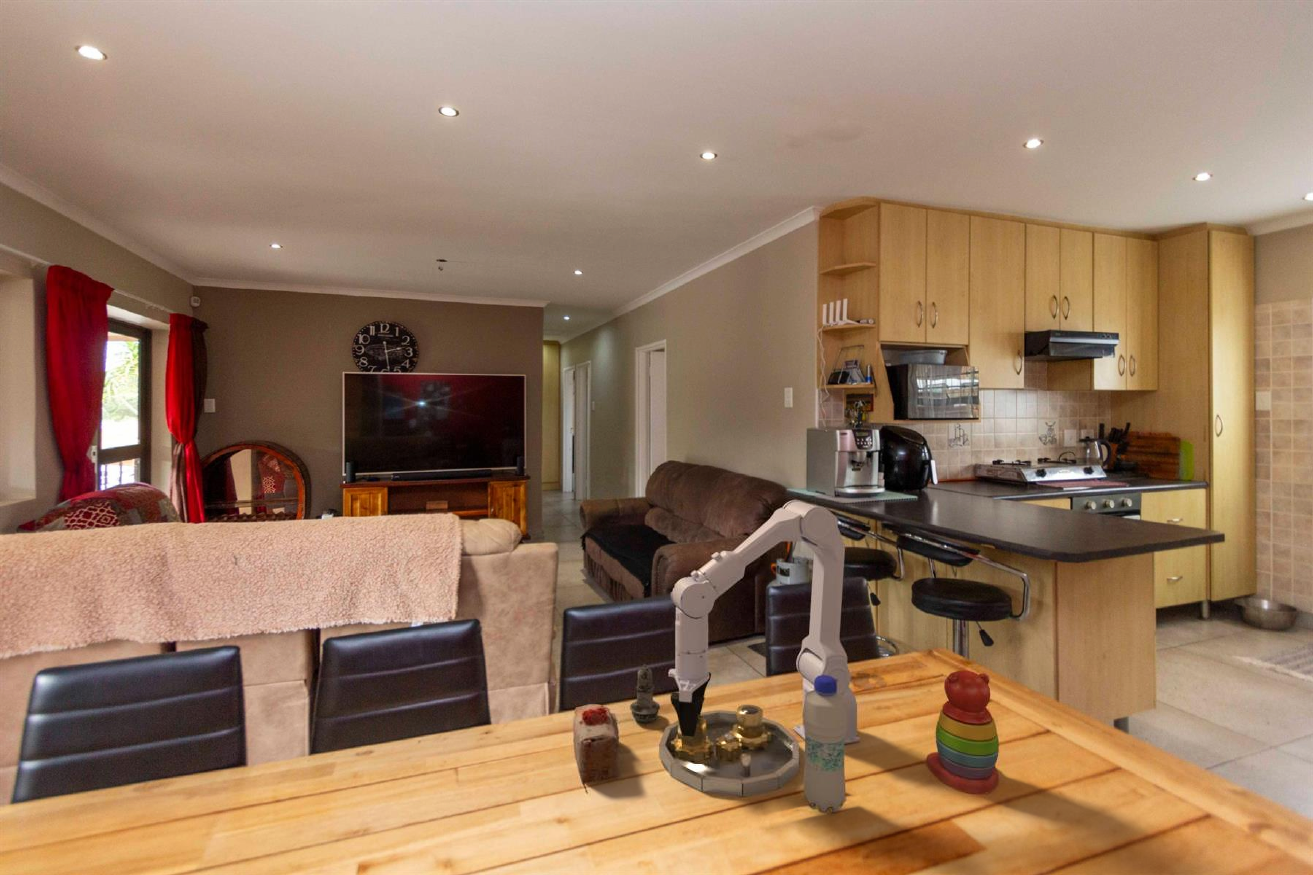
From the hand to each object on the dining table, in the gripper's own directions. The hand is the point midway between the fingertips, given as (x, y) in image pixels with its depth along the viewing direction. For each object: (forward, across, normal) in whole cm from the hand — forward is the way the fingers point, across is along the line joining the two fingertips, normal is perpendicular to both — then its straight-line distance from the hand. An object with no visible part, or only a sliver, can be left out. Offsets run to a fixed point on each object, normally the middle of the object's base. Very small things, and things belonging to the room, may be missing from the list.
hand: (691, 724), depth 112 cm
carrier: (+6, 0, +7) cm, 9 cm away
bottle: (+6, +9, +22) cm, 25 cm away
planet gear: (+5, 0, 0) cm, 5 cm away
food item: (+6, +6, -15) cm, 18 cm away
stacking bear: (+6, -3, +45) cm, 46 cm away
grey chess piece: (+6, -10, -11) cm, 16 cm away
